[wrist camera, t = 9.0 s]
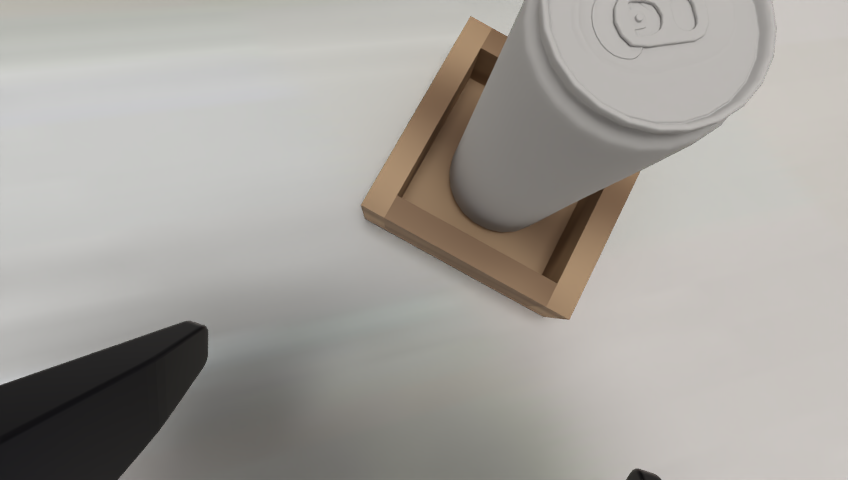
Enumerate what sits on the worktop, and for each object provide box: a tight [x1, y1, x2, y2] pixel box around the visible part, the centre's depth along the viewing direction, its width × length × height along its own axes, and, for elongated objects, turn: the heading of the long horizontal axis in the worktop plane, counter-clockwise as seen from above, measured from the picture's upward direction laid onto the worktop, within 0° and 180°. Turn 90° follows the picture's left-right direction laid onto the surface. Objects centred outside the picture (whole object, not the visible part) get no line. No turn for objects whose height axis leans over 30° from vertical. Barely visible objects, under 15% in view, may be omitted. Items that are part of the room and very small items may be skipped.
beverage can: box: [449, 0, 777, 232], centre depth 14 cm, size 5×5×12 cm
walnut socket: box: [361, 16, 640, 320], centre depth 19 cm, size 9×9×3 cm
